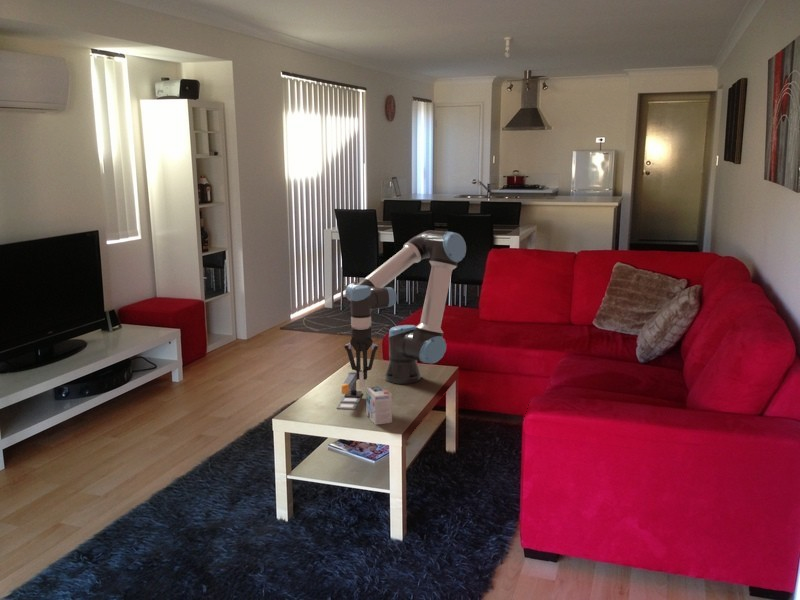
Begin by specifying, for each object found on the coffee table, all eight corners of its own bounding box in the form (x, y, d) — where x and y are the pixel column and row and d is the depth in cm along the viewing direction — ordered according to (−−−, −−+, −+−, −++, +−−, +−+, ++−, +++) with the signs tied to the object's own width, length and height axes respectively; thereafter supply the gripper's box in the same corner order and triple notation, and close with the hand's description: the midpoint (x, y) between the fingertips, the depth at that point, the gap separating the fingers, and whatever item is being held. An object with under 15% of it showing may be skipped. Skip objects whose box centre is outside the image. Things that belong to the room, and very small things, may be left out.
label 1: (360, 399, 275) (360, 397, 275) (358, 403, 271) (358, 402, 270) (343, 398, 276) (343, 397, 276) (340, 402, 271) (340, 401, 271)
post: (362, 393, 282) (361, 378, 281) (359, 398, 276) (359, 382, 275) (347, 393, 283) (347, 377, 281) (344, 398, 277) (344, 382, 275)
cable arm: (358, 379, 280) (358, 371, 279) (349, 394, 261) (349, 386, 261) (349, 378, 280) (349, 371, 279) (339, 394, 262) (339, 385, 261)
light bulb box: (365, 415, 258) (365, 387, 256) (383, 412, 260) (382, 385, 258) (375, 425, 248) (374, 396, 246) (393, 422, 250) (392, 393, 248)
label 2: (357, 405, 269) (357, 403, 268) (354, 409, 264) (354, 408, 264) (339, 404, 269) (339, 403, 269) (336, 408, 265) (336, 407, 264)
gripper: (379, 325, 266) (380, 384, 270) (345, 324, 267) (347, 383, 272) (377, 329, 258) (377, 391, 263) (342, 329, 260) (343, 390, 264)
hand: (362, 387), depth 267 cm, fingers closed
